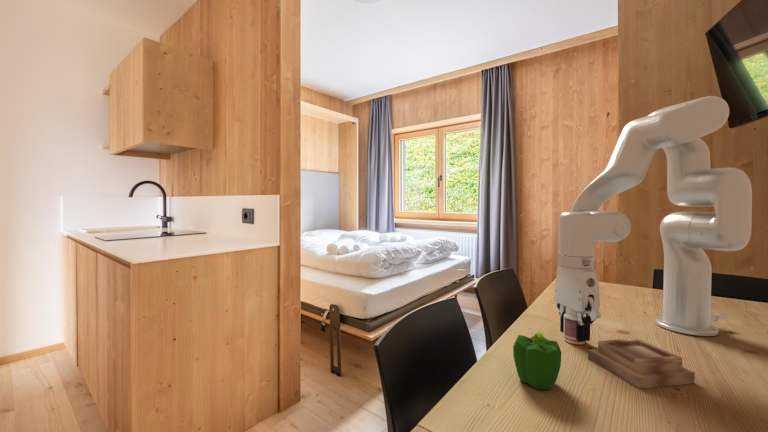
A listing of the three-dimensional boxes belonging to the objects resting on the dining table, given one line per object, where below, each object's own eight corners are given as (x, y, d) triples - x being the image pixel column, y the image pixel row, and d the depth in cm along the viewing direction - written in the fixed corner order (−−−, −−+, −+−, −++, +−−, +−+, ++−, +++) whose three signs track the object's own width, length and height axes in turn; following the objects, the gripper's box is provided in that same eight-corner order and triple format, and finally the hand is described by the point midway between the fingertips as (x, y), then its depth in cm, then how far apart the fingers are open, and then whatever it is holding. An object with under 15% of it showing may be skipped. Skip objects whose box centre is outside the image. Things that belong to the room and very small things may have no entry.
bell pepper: (516, 367, 68) (516, 319, 68) (561, 378, 64) (562, 326, 63) (508, 386, 61) (509, 332, 60) (559, 400, 56) (560, 342, 56)
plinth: (636, 354, 74) (636, 335, 73) (694, 383, 62) (694, 360, 62) (588, 358, 72) (588, 339, 72) (638, 388, 60) (639, 365, 60)
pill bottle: (589, 345, 78) (589, 310, 78) (567, 344, 79) (567, 309, 79) (581, 338, 83) (581, 304, 83) (560, 336, 84) (561, 303, 84)
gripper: (618, 268, 73) (617, 349, 73) (565, 256, 90) (564, 323, 90) (588, 269, 72) (587, 352, 72) (540, 257, 89) (539, 324, 89)
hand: (574, 335), depth 81 cm, fingers closed on pill bottle, 4 cm apart
